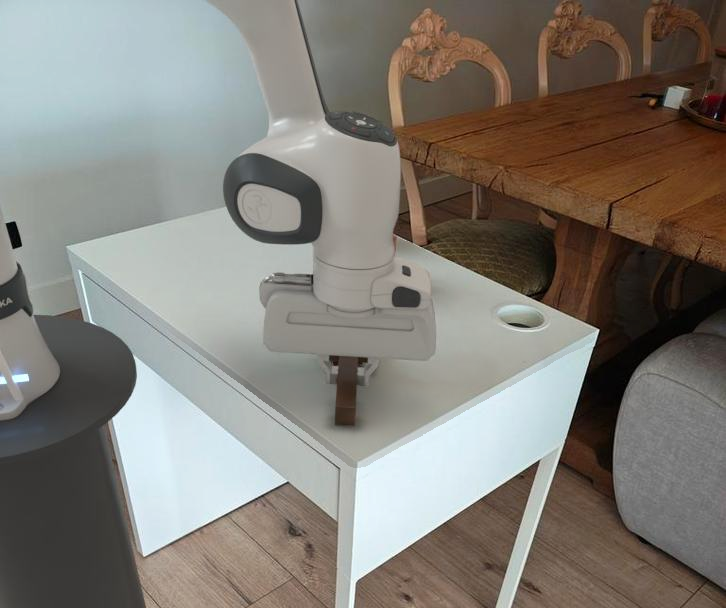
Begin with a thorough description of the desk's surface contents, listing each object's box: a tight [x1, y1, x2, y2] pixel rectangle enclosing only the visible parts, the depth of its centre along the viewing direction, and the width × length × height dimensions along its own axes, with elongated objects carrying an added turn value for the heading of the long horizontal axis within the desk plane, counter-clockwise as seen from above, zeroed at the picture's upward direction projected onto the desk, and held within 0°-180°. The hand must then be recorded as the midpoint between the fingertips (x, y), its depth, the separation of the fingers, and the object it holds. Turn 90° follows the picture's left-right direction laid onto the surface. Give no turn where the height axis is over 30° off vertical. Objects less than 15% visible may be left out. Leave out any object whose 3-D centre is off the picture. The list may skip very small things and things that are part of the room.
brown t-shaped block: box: [329, 355, 368, 427], centre depth 87 cm, size 8×13×4 cm, turn 179°
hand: (347, 382), depth 87 cm, fingers closed on brown t-shaped block, 2 cm apart
